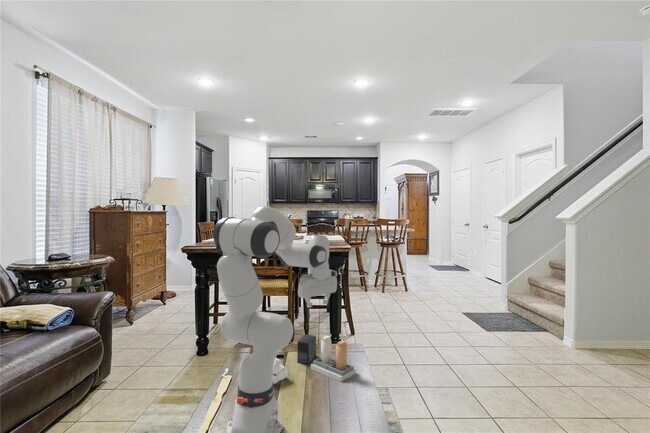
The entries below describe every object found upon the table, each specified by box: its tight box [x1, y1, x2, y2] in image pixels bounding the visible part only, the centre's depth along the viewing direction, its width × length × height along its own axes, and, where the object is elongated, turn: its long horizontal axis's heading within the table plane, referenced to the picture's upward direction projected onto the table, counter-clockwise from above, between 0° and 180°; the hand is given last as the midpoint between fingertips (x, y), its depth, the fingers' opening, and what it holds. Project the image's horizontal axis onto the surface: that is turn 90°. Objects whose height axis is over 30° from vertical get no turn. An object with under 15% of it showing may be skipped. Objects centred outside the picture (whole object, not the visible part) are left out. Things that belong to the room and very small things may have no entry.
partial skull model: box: [273, 357, 291, 385], centre depth 152 cm, size 12×9×10 cm
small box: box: [296, 334, 317, 365], centre depth 174 cm, size 11×6×10 cm, turn 162°
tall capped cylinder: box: [335, 340, 348, 371], centre depth 158 cm, size 5×5×12 cm
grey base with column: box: [310, 334, 357, 382], centre depth 161 cm, size 18×11×14 cm, turn 48°
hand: (317, 305), depth 150 cm, fingers open, 8 cm apart
